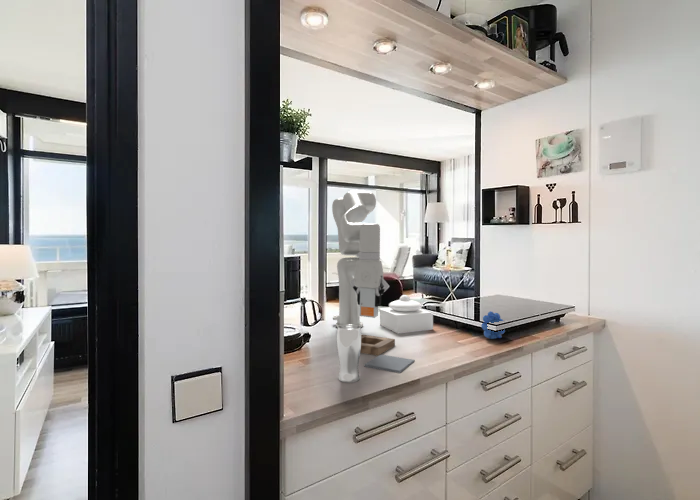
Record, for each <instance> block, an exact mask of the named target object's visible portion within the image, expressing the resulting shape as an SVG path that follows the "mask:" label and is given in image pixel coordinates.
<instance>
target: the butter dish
mask: <svg viewBox="0 0 700 500" xmlns="http://www.w3.org/2000/svg"><path fill="white" fill-rule="evenodd" d="M422 308H423V306H422V304H421V302H419V301H416V300H413V299H411V298H410V297H409V296H408V295H407V294H402V295H401V296H400V297H399V299H396V300H394V301H391V302H389V303H388V307H382V308H378V311H379V326H382V327H384V328H385V329H388V330H389V331H391V330H392V332H394V333H396V334H404V333H405V334H406V333H415V332H421V331H422V332H423V331H430V330H431V331H432V330H434V314H433V313H432V312H431V311H427V310H425V309H422Z"/></svg>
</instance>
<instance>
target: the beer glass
mask: <svg viewBox="0 0 700 500" xmlns="http://www.w3.org/2000/svg"><path fill="white" fill-rule="evenodd" d="M361 328H362V327H360V326H359V325H354V324H344V325H339V326H338V327H337V332H336V348H337V349H336V350H337V355H338V360H339V361H338V362H339V373H338V380H339V381H340V382H341V383H349V384H350V383H351V384H352V383H356V382H358V381H360V379H361V378H360V371H359V362H360V356H361V353H360V351H361V335H362V330H361Z"/></svg>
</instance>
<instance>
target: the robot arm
mask: <svg viewBox="0 0 700 500" xmlns="http://www.w3.org/2000/svg"><path fill="white" fill-rule="evenodd" d="M376 205H377V199H376V196H375V194H374V193H373V191H368V190H367V191H366V190H350V191H347V192H346V193H345V194H344V195H343V196H342V197H339V198H335V199H334V200H333V201H332V206H331V210H332V215H333V219H334V222H335V225H336V228H337V237H338V241H337V242H338V250H339V253H340V255H343V256H349V257H343V258H340V259H339V260H338V262H337V264H336V265H337V266H336V268H337V275H338V276H337V277H338V298H339V299H338V300H339V301H338V302H339V303H338V305H339V306H338V308H339V309H338V311H339V312H338V315H336V314H335V315H334V314H333V317H332V320H333V321H336V322H335V327H337V328H338V326H339V325H344V324H354V325H359V326H360V328H362V327H363V326H364V323H363V322H362V321H360V319H361V316H360V287H361V288H371V289H375V292H376V296H375V307H378V308H379V307H380V306H381V304H382V295H384V293H385V292H386V291H387V290H388V289H389V288H390V285H389V284H388V282H387V281H386V280H385V279H384V267H383V262H382V261H381V252H380V251H381V226H380V224H378V223H376V222H375V223H373V222H370V223H368V222H363V221H365V220H366V218H367V217H368V215H369V214H370V213H372V212H373V211H374V210H375V208H376V207H377V206H376ZM350 256H351V257H350ZM353 256H355V257H353Z"/></svg>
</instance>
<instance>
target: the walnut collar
mask: <svg viewBox="0 0 700 500" xmlns="http://www.w3.org/2000/svg"><path fill="white" fill-rule="evenodd" d="M395 344H396V339H395V338H389V337H383V336H382V337H381V336H377V335H376V336H374V335H368V334H361V351H360V354H365V355H372V356H376V357H377V356H379V355H381V354H382V355H383V353H385V352H387V351H388V350H390V349H392V348H394V347H395V346H396V345H395Z"/></svg>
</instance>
